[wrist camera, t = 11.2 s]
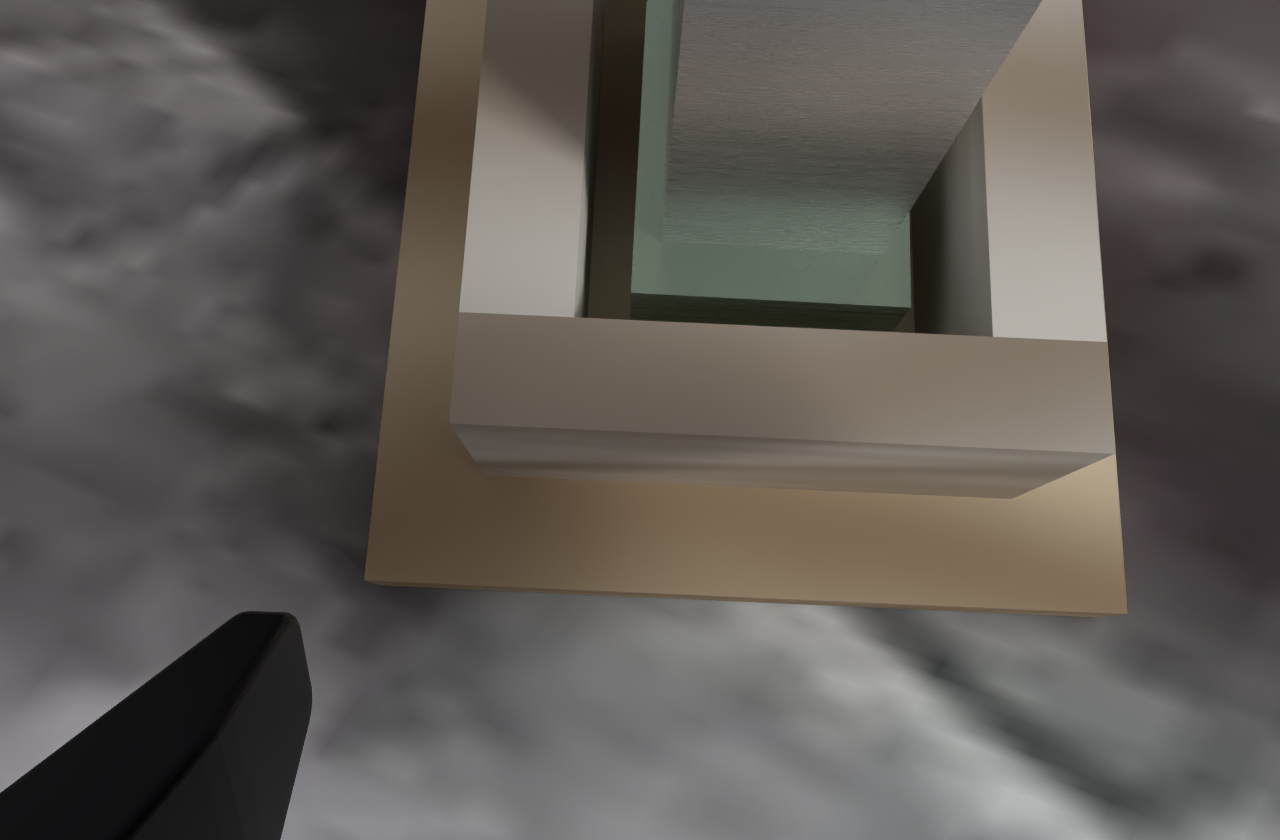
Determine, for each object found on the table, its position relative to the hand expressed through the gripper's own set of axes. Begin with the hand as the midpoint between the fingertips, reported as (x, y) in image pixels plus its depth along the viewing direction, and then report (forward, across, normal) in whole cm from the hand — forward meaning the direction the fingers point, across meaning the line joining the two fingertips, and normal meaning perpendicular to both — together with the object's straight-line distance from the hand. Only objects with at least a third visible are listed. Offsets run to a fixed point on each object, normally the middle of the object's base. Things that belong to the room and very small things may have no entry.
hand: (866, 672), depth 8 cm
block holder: (+12, 0, 0) cm, 12 cm away
